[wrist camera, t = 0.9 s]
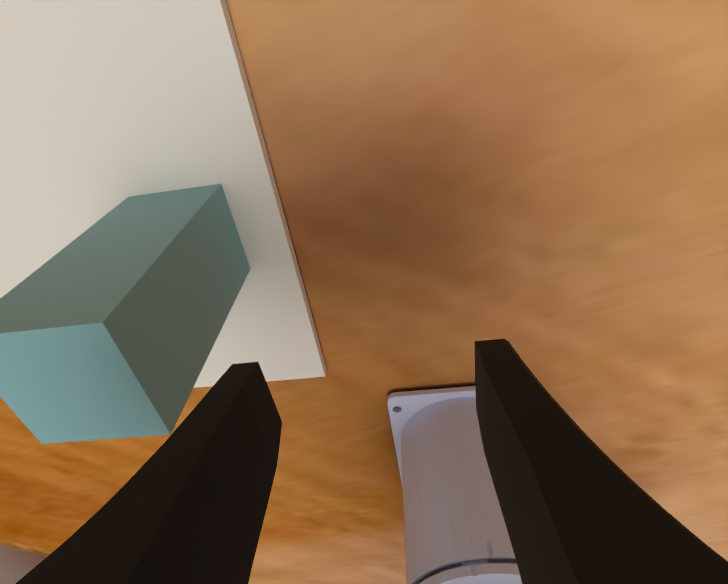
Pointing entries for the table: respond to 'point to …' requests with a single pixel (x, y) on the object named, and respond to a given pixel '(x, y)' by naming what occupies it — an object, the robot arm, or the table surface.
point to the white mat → (145, 151)
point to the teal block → (122, 318)
